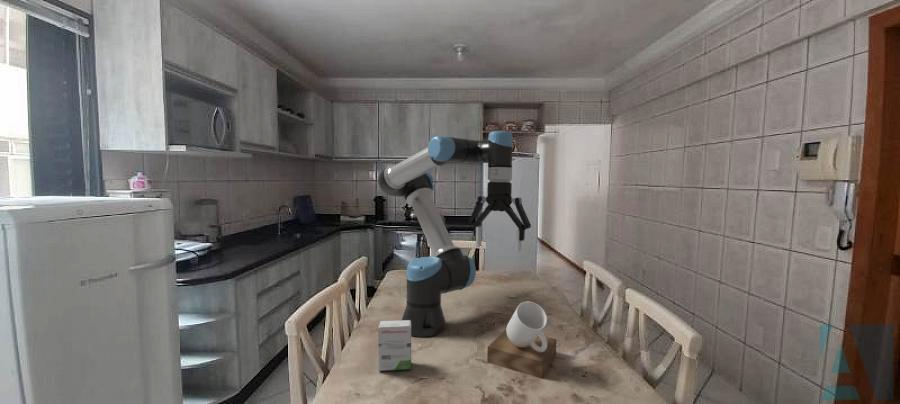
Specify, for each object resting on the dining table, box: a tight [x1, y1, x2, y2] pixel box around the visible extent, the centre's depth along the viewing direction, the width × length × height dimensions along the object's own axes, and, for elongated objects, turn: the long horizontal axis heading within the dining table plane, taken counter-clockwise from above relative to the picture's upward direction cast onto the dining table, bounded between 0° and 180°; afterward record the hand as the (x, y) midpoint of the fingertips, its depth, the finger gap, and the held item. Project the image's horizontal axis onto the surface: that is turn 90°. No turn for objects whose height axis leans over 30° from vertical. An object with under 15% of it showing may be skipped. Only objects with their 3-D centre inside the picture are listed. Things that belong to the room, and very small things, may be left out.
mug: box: [505, 300, 548, 352], centre depth 94 cm, size 12×8×10 cm
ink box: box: [377, 319, 412, 372], centre depth 94 cm, size 9×5×12 cm, turn 96°
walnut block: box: [486, 329, 557, 379], centre depth 99 cm, size 15×15×5 cm
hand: (497, 248), depth 111 cm, fingers open, 13 cm apart
